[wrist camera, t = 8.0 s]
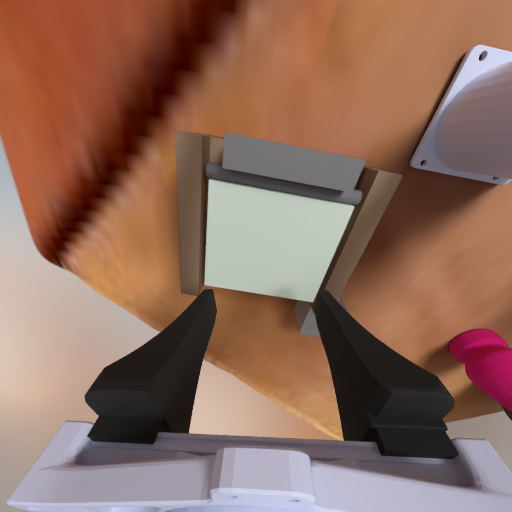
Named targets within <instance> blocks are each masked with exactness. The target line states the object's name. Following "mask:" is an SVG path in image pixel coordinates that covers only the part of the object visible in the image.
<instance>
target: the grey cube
mask: <svg viewBox="0 0 512 512" xmlns="http://www.w3.org/2000/svg"><path fill="white" fill-rule="evenodd" d="M338 302H339V304H340V305H341V306H342V307H343V308H344V309H345V310H346V308H345V306H344V304H343V301H342V299H341V297H340V298H339V300H338ZM346 311H347V310H346ZM295 314H296V320H297V326H298V332H299V334H302V335H309V336H315V337H320V333H319V330H318V327H317V323H316V318H315V314H314V313H313V310H312V306H311V303H310V302H308V301H302V300H297V302H296V305H295Z"/></svg>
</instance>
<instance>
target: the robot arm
mask: <svg viewBox="0 0 512 512" xmlns="http://www.w3.org/2000/svg"><path fill="white" fill-rule="evenodd" d="M480 54H482V58H481V60H479V55H480ZM423 160H424V163H423V164H422V165H420V164H421V162H422V161H423ZM410 166H411V167H413V168H418V169H423V170H428V171H433V172H438V173H443V174H448V175H453V176H458V177H463V178H468V179H473V180H478V181H483V182H488V183H494V184H499V185H505V184H507V183H509V182H510V181H511V179H512V52H509V51H505V50H501V49H497V48H492V47H488V46H484V45H477V46H475V47H473V48H471V49H470V50H469V51H468V52H467V54H466V55H465V57H464V59H463V61H462V63H461V65H460V67H459V69H458V70H457V72H456V74H455V76H454V78H453V80H452V82H451V84H450V86H449V88H448V90H447V92H446V93H445V95H444V97H443V99H442V101H441V103H440V105H439V107H438V109H437V111H436V113H435V115H434V117H433V118H432V120H431V122H430V124H429V126H428V128H427V130H426V132H425V134H424V136H423V138H422V140H421V141H420V143H419V145H418V147H417V149H416V151H415V153H414V155H413V157H412V159H411V161H410ZM494 176H495V177H494ZM493 177H494V178H493ZM216 313H217V309H216V303H215V298H214V292H213V289H204V290H203V291H202V292H201V293H200V295H199V296H198V297H197V298H196V299H195V300H194V301H193V302H192V303H191V305H190V306H189V307H188V308H187V309H186V310H185V311H184V312H183V313H182V314H181V315H180V316H179V317H178V318H177V319H176V320H175V321H173V322H172V323H171V324H170V325H169V326H168V327H167V328H165V329H164V330H163V331H162V332H161V333H159V334H158V335H157V336H155V337H154V338H153V339H151V340H150V341H148V342H147V343H146V344H144V345H143V346H141V347H139V348H138V349H136V350H135V351H133V352H131V353H130V354H128V355H127V356H125V357H123V358H121V359H119V360H118V361H116V362H114V363H112V364H110V365H109V366H107V367H105V368H104V369H103V370H102V372H101V373H100V375H99V376H98V377H97V379H96V380H95V382H94V383H93V384H92V386H91V387H90V389H89V390H88V392H87V393H86V395H85V401H86V403H87V404H88V405H89V406H90V407H91V408H92V409H93V410H94V411H95V413H96V414H97V415H99V417H98V419H97V420H96V422H95V424H93V423H91V422H86V421H65V422H64V423H63V424H62V426H61V427H60V429H59V430H58V431H57V433H56V434H55V436H54V437H53V439H52V440H51V441H50V442H49V444H48V445H47V447H46V448H45V449H44V451H43V452H42V454H41V455H40V456H39V458H38V459H37V461H36V462H35V463H34V465H33V466H32V467H31V469H30V470H29V472H28V473H27V474H26V476H25V477H24V479H23V480H22V481H21V483H20V484H19V486H18V487H17V488H16V490H15V491H14V492H13V494H12V495H11V497H10V498H9V499H8V501H7V504H8V505H10V506H14V507H17V508H20V509H23V510H26V511H29V512H512V473H511V472H510V471H509V469H508V468H507V466H506V465H505V464H504V462H503V461H502V460H501V458H500V457H499V456H498V454H497V453H496V452H495V450H494V449H493V447H492V446H491V445H490V443H489V442H488V441H487V440H485V439H471V438H455V439H451V440H450V438H449V437H448V435H447V434H446V432H445V431H447V430H448V429H447V426H446V425H445V423H444V421H443V420H442V419H443V418H444V417H445V416H446V415H447V414H448V413H449V412H450V411H451V410H452V408H453V407H454V404H455V400H454V399H453V397H452V396H451V394H450V393H449V391H448V390H447V389H446V387H445V386H444V385H443V383H442V382H441V381H440V379H439V378H438V377H437V376H435V375H433V374H432V373H430V372H428V371H426V370H424V369H423V368H421V367H419V366H417V365H416V364H414V363H412V362H411V361H409V360H408V359H406V358H404V357H403V356H401V355H400V354H398V353H397V352H395V351H394V350H392V349H391V348H389V347H388V346H387V345H385V344H384V343H382V342H381V341H380V340H378V339H377V338H376V337H374V336H373V335H372V334H371V333H370V332H368V331H367V330H366V329H365V328H364V327H362V326H361V325H360V324H359V323H358V322H357V321H356V320H355V319H354V318H353V317H352V316H351V315H350V314H349V313H348V312H347V311H346V310H345V309H344V308H343V307H342V306H341V305H340V304H339V302H338V301H337V300H336V299H335V298H334V297H333V296H332V295H331V293H330V292H329V291H328V290H318V294H317V300H316V306H315V318H316V323H317V327H318V330H319V333H320V337H321V340H322V343H323V346H324V349H325V352H326V355H327V358H328V362H329V365H330V370H331V374H332V379H333V384H334V388H335V393H336V398H337V404H338V409H339V414H340V420H341V426H342V432H343V438H344V441H338V440H316V439H295V438H294V439H293V438H273V437H252V436H229V435H207V434H189V428H190V422H191V416H192V410H193V405H194V399H195V394H196V389H197V384H198V379H199V375H200V370H201V366H202V361H203V358H204V354H205V351H206V348H207V345H208V342H209V339H210V336H211V333H212V330H213V327H214V323H215V318H216Z"/></svg>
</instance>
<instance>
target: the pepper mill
mask: <svg viewBox="0 0 512 512" xmlns="http://www.w3.org/2000/svg"><path fill="white" fill-rule="evenodd" d="M449 350H450V352H451V353H452V354H453V355H454V356H455V357H456V358H457V360H458V361H460V362H461V363H464V364H465V370H466V374H467V376H468V378H469V379H470V380H471V381H472V382H473V383H474V384H475V385H476V386H477V387H478V388H479V389H480V390H482V391H483V392H484V393H485V394H487V395H488V396H490V397H491V398H493V399H494V400H496V401H497V402H499V403H500V404H502V405H503V406H505V407H506V408H508V409H509V410H510V411H512V348H508V343H507V342H506V341H505V340H504V339H503V338H501V337H500V336H499V335H498V334H497V333H495V332H494V331H492V330H488V329H475V330H471V331H467V332H464V333H462V334H460V335H458V336H457V337H455V338H454V339H453V340H452V341H451V342H450V344H449Z"/></svg>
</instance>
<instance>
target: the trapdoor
mask: <svg viewBox="0 0 512 512" xmlns="http://www.w3.org/2000/svg"><path fill="white" fill-rule="evenodd" d="M365 161H366V160H362V159H357V158H351V157H346V156H341V155H336V154H331V153H326V152H321V151H316V150H311V149H306V148H301V147H296V146H291V145H286V144H281V143H276V142H271V141H266V140H261V139H256V138H251V137H245V136H240V135H235V134H230V133H225V138H224V151H223V164H217V163H212V162H208V163H207V167H206V176H207V178H210V179H209V189H208V212H207V236H206V259H205V282H204V285H207V286H213V287H220V288H226V289H232V290H239V291H245V292H251V293H258V294H264V295H270V296H276V297H283V298H289V299H295V300H302V301H308V302H314V299H315V297H316V295H317V292H318V290H319V288H320V285H321V283H322V281H323V279H324V276H325V274H326V272H327V269H328V267H329V265H330V263H331V260H332V258H333V256H334V253H335V251H336V249H337V246H338V244H339V242H340V240H341V237H342V235H343V233H344V230H345V228H346V226H347V224H348V221H349V219H350V217H351V214H352V212H353V210H354V206H353V205H355V206H356V205H358V204H359V202H360V201H361V198H362V191H359V190H354V188H355V185H356V183H357V181H358V178H359V176H360V173H361V171H362V168H363V166H364V164H365Z"/></svg>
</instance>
